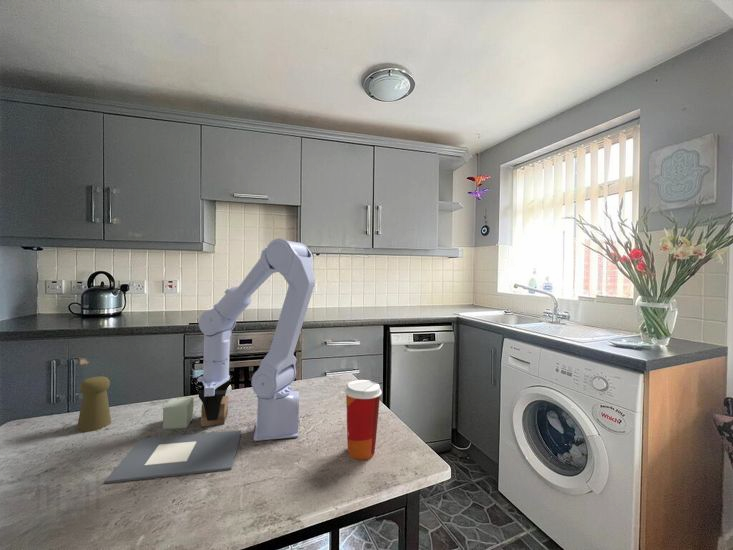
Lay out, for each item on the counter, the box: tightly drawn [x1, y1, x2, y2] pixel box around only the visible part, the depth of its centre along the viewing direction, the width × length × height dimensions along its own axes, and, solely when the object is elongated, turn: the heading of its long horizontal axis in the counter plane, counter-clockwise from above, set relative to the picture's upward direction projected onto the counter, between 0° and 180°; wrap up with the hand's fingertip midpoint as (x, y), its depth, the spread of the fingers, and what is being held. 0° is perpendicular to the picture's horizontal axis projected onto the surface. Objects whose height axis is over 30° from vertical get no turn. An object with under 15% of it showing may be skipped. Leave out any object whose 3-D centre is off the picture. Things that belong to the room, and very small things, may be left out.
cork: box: [76, 375, 112, 433], centre depth 73 cm, size 6×6×11 cm
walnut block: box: [200, 395, 229, 427], centre depth 78 cm, size 5×5×5 cm
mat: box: [104, 429, 243, 484], centre depth 63 cm, size 20×14×1 cm
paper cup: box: [344, 379, 383, 461], centre depth 66 cm, size 8×8×14 cm
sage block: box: [162, 397, 195, 430], centre depth 76 cm, size 5×5×5 cm
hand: (215, 414), depth 78 cm, fingers open, 5 cm apart
